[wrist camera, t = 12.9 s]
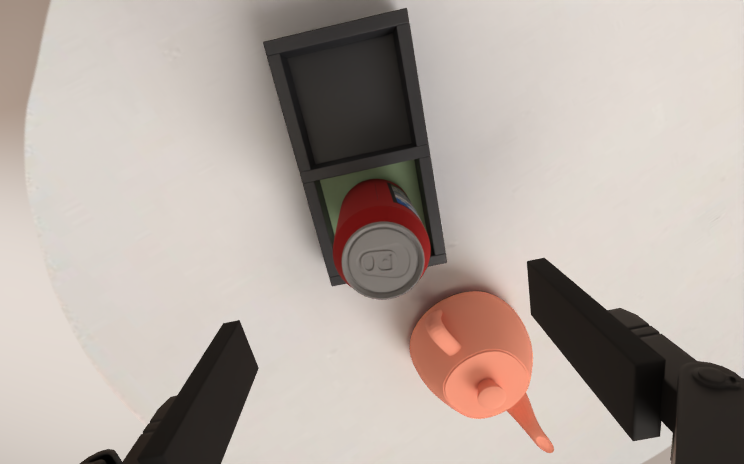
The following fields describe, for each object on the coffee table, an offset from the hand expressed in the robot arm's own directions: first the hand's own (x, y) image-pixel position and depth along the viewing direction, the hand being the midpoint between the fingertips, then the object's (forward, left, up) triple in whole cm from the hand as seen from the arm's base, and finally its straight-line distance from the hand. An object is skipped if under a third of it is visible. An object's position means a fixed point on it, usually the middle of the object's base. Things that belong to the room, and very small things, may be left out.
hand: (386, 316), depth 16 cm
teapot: (+18, +7, -20) cm, 27 cm away
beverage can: (+1, 0, -19) cm, 19 cm away
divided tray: (-4, 0, -20) cm, 20 cm away
